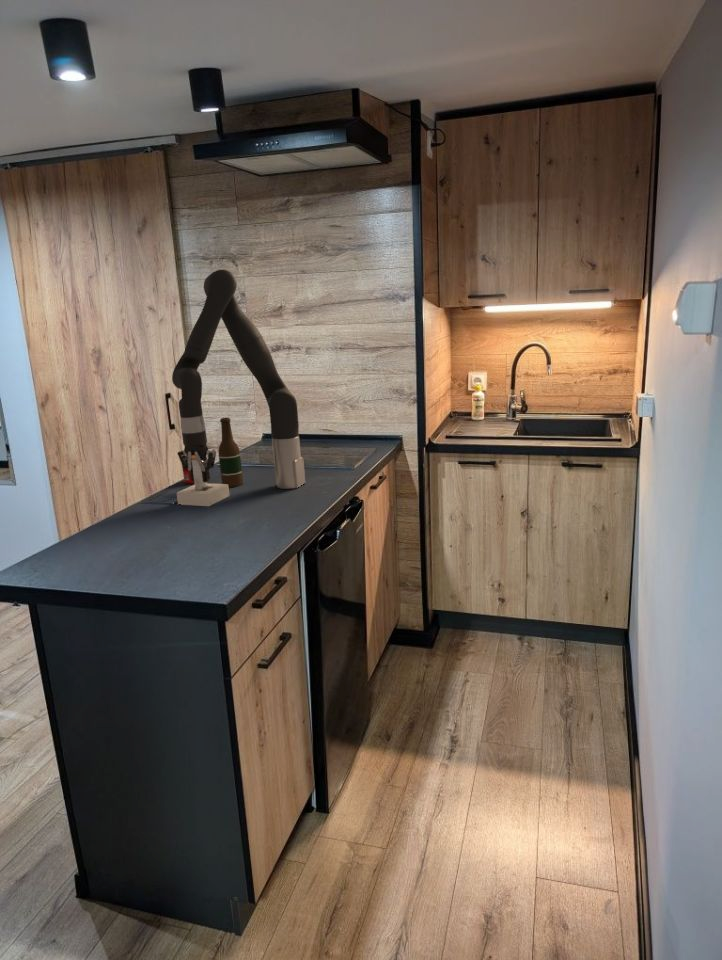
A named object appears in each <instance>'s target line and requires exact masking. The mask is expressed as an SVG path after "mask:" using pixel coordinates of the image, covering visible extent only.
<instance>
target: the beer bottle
mask: <svg viewBox="0 0 722 960" xmlns="http://www.w3.org/2000/svg"><path fill="white" fill-rule="evenodd" d="M219 421H220V427H221V442H220V444H219V445H218V452H217V453H218V460H219V461H218V462H219V469H220V478H221V484H228V487H229V488H236V487H240V486H242V485H244V475H243V468H242V461H241V460H242V459H241V453H240V448H239V446H238V444H237V443H236V441H235V440H234V437H233V431H232V426H231V418H230V417H222V418H220V420H219Z"/></svg>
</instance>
